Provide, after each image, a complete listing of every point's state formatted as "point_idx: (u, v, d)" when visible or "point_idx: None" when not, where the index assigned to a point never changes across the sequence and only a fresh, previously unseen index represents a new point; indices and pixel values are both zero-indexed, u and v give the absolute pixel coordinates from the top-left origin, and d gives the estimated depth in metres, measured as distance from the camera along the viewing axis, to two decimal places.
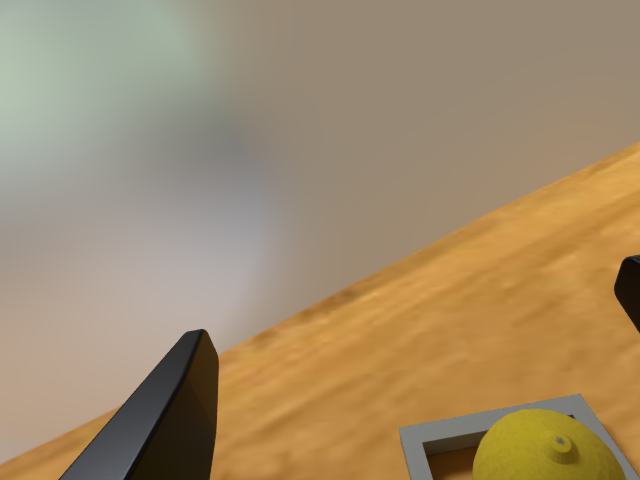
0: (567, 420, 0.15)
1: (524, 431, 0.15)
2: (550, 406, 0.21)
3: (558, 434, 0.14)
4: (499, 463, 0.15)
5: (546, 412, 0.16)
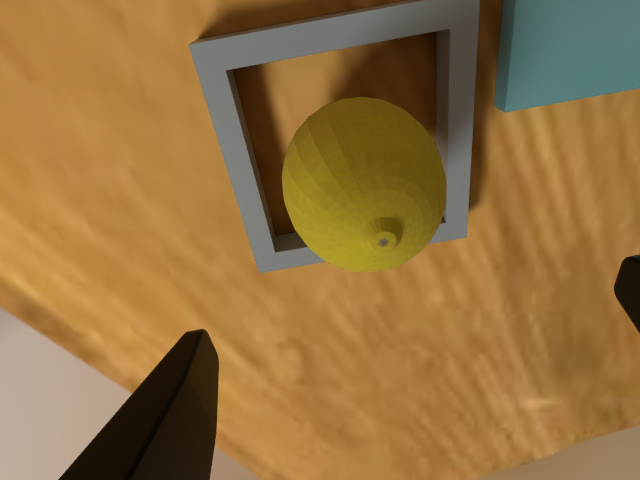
0: (337, 202, 0.11)
1: (352, 257, 0.12)
2: (215, 97, 0.14)
3: (373, 241, 0.11)
4: (373, 271, 0.13)
5: (319, 217, 0.11)
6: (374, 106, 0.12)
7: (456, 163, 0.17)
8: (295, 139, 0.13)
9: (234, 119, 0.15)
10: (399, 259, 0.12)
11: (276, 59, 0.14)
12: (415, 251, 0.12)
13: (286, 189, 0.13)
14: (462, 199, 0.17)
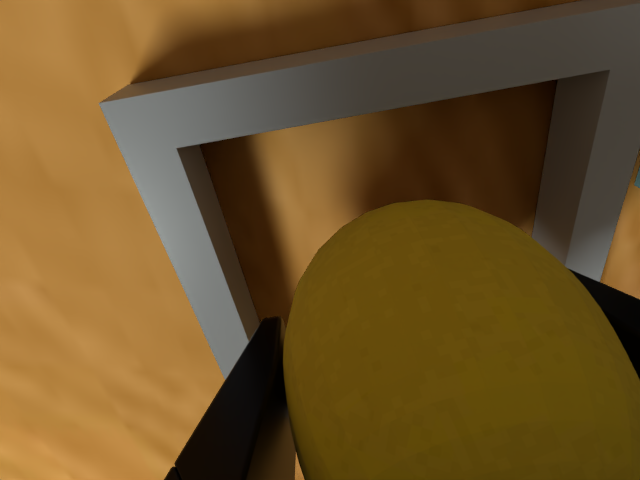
0: None
1: None
2: (160, 193, 0.08)
3: None
4: None
5: None
6: (489, 256, 0.05)
7: None
8: (311, 305, 0.06)
9: (197, 227, 0.08)
10: None
11: (273, 128, 0.07)
12: None
13: (293, 417, 0.06)
14: None
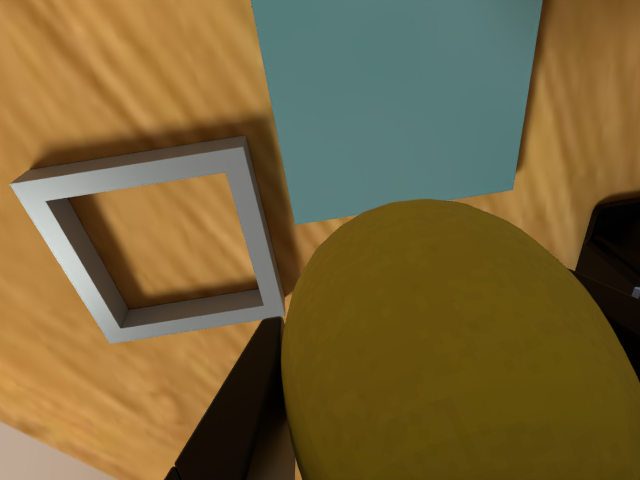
0: None
1: None
2: (40, 219, 0.18)
3: None
4: None
5: None
6: (487, 256, 0.05)
7: (259, 263, 0.20)
8: (309, 304, 0.06)
9: (61, 234, 0.18)
10: None
11: (86, 193, 0.17)
12: None
13: (290, 417, 0.06)
14: (272, 288, 0.21)
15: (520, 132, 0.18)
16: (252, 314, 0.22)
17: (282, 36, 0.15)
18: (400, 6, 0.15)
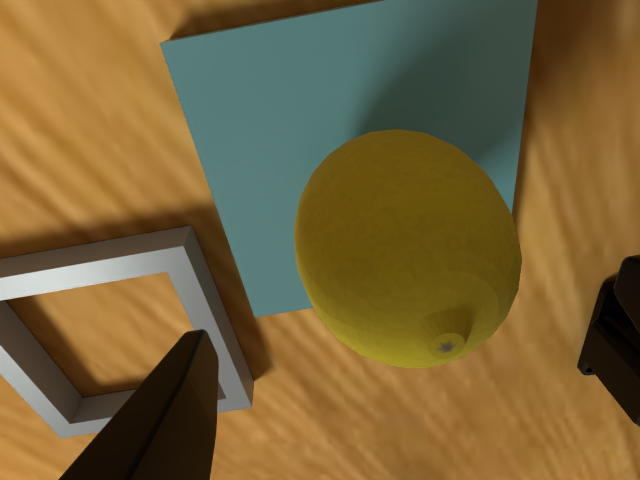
0: (377, 288, 0.07)
1: (397, 358, 0.08)
2: None
3: (433, 345, 0.07)
4: None
5: (350, 305, 0.08)
6: (419, 146, 0.09)
7: None
8: (312, 188, 0.10)
9: None
10: (460, 356, 0.09)
11: (11, 297, 0.15)
12: (481, 344, 0.09)
13: (301, 256, 0.09)
14: (235, 382, 0.19)
15: None
16: None
17: (218, 128, 0.13)
18: (356, 91, 0.12)
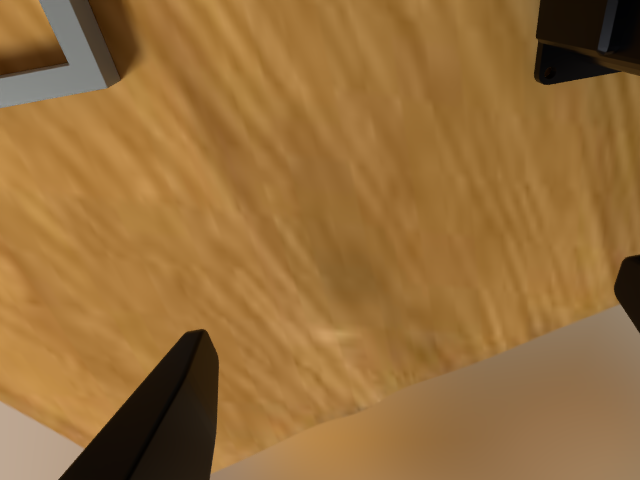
0: None
1: None
2: None
3: None
4: None
5: None
6: None
7: None
8: None
9: None
10: None
11: None
12: None
13: None
14: (73, 29, 0.14)
15: None
16: (57, 83, 0.15)
17: None
18: None
